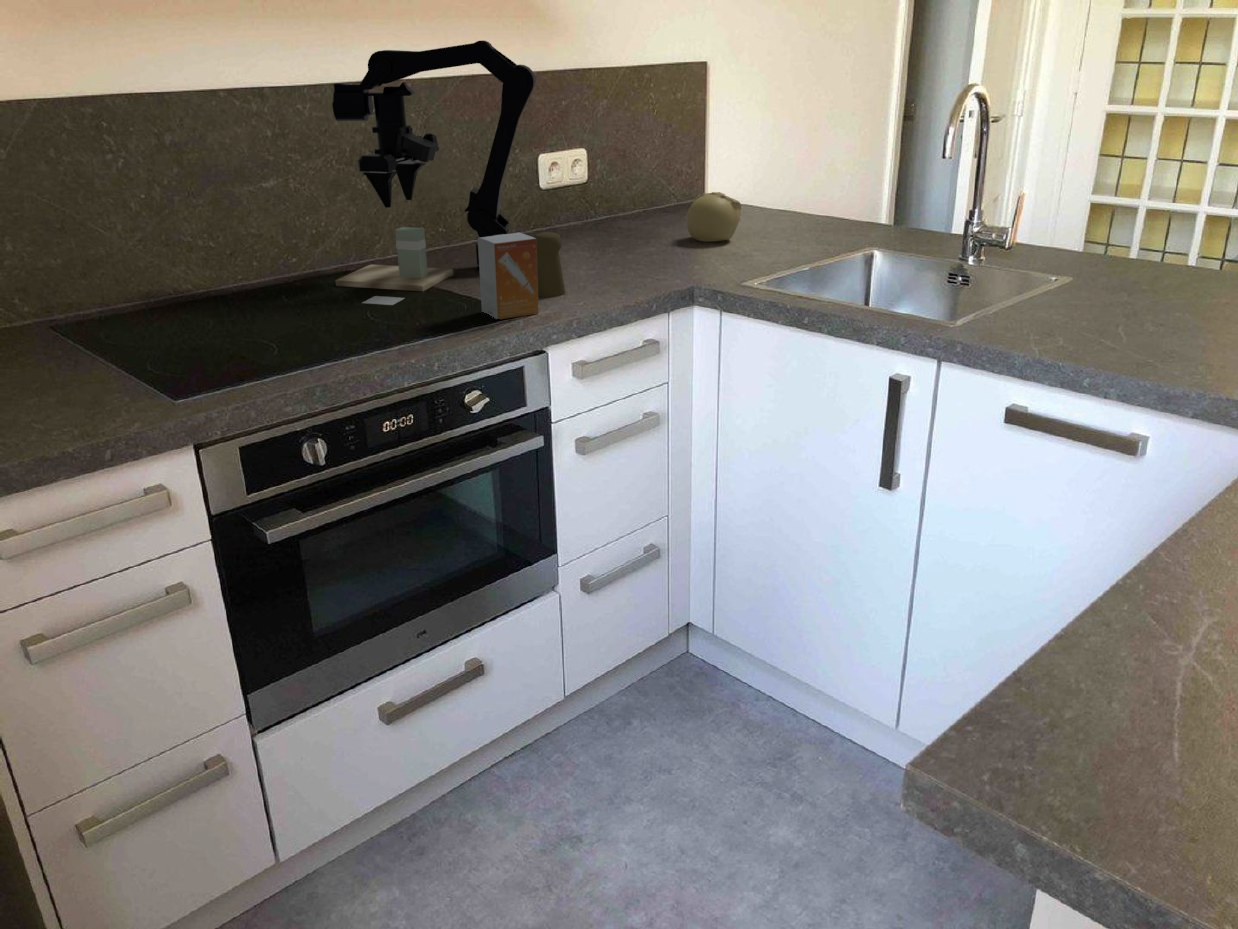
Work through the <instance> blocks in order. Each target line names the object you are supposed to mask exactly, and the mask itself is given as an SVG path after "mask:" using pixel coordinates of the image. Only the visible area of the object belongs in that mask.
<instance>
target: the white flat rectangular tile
mask: <svg viewBox="0 0 1238 929" xmlns="http://www.w3.org/2000/svg"><path fill="white" fill-rule="evenodd" d="M404 299H405V297H396V296H383V295H382V296H379V295H375V296H372V297H371V298H368V299H367V300H365V301H362V302H361V304H368V305H383V306H384V305H385V306H394V305H395V304H397V303H399V302H401V301H403V300H404Z"/></svg>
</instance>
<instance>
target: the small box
mask: <svg viewBox="0 0 1238 929" xmlns="http://www.w3.org/2000/svg"><path fill="white" fill-rule="evenodd" d="M534 237H535V236H530V235H528V234H525V233H522V232H514V233H507V234H502V235H494V236H489V237H480V238H478V237H477V244H478V253H479V265H478V266H479V270H478V271H479V284H480V285H479V287H480V300H481V301H480V304H481V313H482V312H484V313H487V314H489V315H490V316H492V317H491V318H493V317H494V318H493V319H495V320H497V319H500V320H504V319H511V318H517V317H524V316H530V315H537V314H539V312H540V311H539V296H538V276H537V244H536V238H534ZM484 313H483V314H484ZM490 316H489V317H490Z"/></svg>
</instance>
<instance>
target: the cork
mask: <svg viewBox="0 0 1238 929" xmlns="http://www.w3.org/2000/svg"><path fill="white" fill-rule="evenodd" d="M533 237H534V238H536V244H537V276H538V297H540V298H554V297H560V296H564V295H566V289H565V281H564V276H563V270H562V264H561V257H560V250H561V248H562V244H563V243H562V242H563V241H562V238H561V235H559V233H556V232H552V231H551V232H550V231H545V232H540V233H539V232H538V233H536V234H535V235H534V236H533Z"/></svg>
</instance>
